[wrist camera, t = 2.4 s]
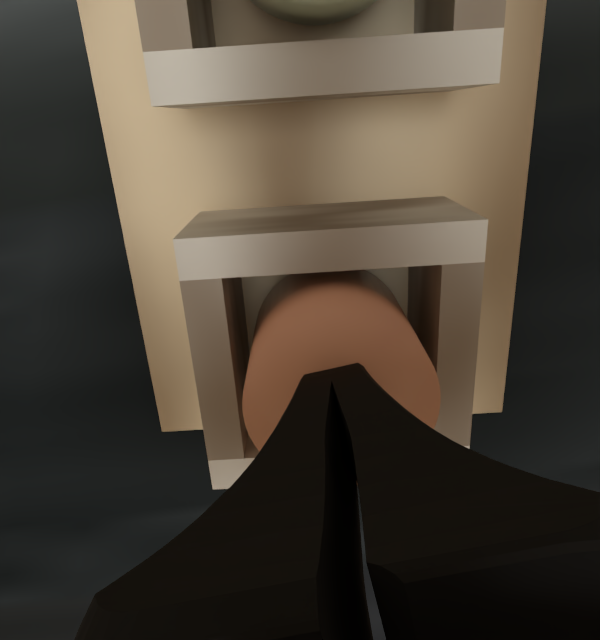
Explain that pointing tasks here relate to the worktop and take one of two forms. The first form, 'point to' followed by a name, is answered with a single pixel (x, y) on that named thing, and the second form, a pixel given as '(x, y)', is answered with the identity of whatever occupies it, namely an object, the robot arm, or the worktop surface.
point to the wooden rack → (316, 182)
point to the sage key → (313, 10)
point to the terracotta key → (333, 345)
